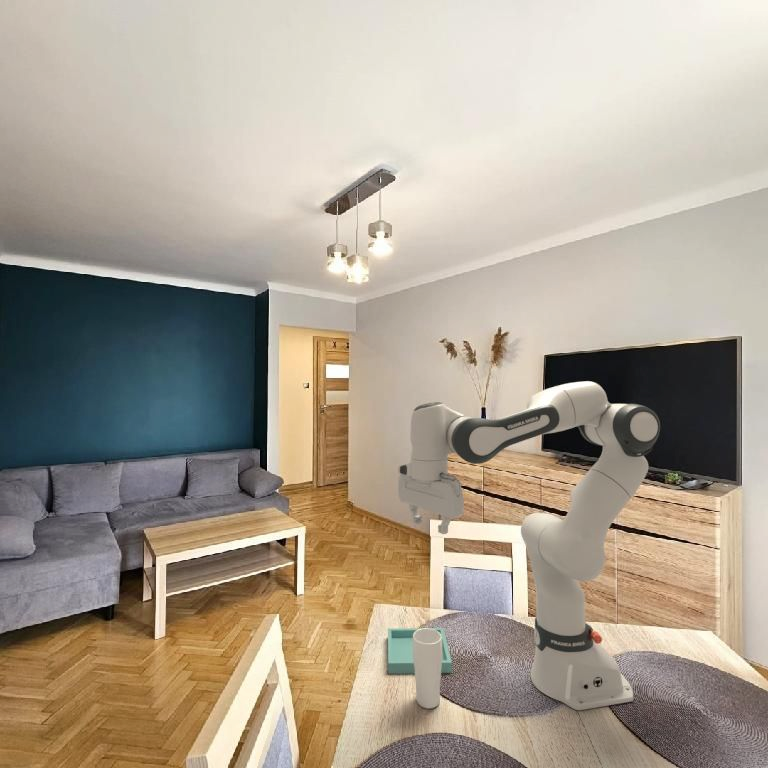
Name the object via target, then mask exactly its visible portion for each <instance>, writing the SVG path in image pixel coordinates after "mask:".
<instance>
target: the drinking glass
mask: <svg viewBox="0 0 768 768" xmlns="http://www.w3.org/2000/svg"><path fill="white" fill-rule="evenodd" d="M422 628H423V629H419V630H417V631H415V632H414V634H413V661H414V671H415V673H414V681H415V694H416V695H415V696H416V702H417V703H418V705H419V707H422V708H424V709H434V708H436V707H438V705H439V704H440V701H441V700H440V699H441V693H440V692H441V680H442V679H441V678H442V673H441V667H442V636H441V634H440V633H439V632H438V631H436V630H434V629H430V628H431V627H429V628H427V627H422Z"/></svg>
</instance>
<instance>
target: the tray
mask: <svg viewBox="0 0 768 768" xmlns="http://www.w3.org/2000/svg"><path fill="white" fill-rule="evenodd" d="M423 628H424V627H422V628H421V627H420V628H419V627H418V628H416V627H415V628H407V627H405V628H403V627H402V628H387V665H388V666H387V667H388V671H387V672H388V675H389V674H390V675H391V674H393V675H394V674H395V675H396V674H400V675H401V674H403V675H405V674H415V671H414V661H413V634H414V632H415V631H417V630H419V629H423ZM429 628H430V629H434V630H436V631H438V632H439V633H440V634H441V636H442V667H441V674H453V666H452V665H453V663H452V657H451V654H450V650H449V646H448V641H447V638H446V633H445V630H444V628H443V627H429Z"/></svg>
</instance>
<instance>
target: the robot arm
mask: <svg viewBox="0 0 768 768" xmlns="http://www.w3.org/2000/svg"><path fill="white" fill-rule="evenodd" d="M575 427H576V428H577V427H578V429H579V432H580V434H581V435H582V437H583V438H584V440H586V441H588V442H589V443H591V444H593V445H595V446H602V451H601V455H600V456H599V457H598V460H597V461H596V462H595V463H594V464H593V465H592V466H591V468H589V470H588V471H586V473H585V474H584V475H583V477H582V478H581V479H580V480H579V481H578V482H577V484H576V485H575V486H574V487H573V488H572V490H571V491H570V494H569V499H570V506H569V508H568V512H567V513H566V515H565V516H564V518H563V519H561V518H560V517H557V516H556V515H554V514H551V513H546V512H533V513H531V514H529V515H527V516H525V518H524V520H523V521H522V523H521V527H520V535H521V539H522V540H523V543H524V544H525V547H526V550H527V554H528V557H529V561H530V568H531V571H532V576H533V581H534V586H535V587H534V589H535V600H536V601H535V604H536V606H535V607H536V609H535V610H536V612H535V613H536V617H534V629H533V630H534V631H533V633H534V636H533V637H534V642H535V652H534V653H535V654H534V659H533V663H532V668H531V671H530V680H531V682H532V684H533V686H534V687H536V689H538V691H540V692H541V693H543V694H544V695H546V696H548V697H549V698H552V699H554V700H556V701H559V702H561V703H564V704H565V705H567V706H568V707H570V708H571V709H573V710H576V711H583V710H584V711H585V710H589V709H595V708H601V707H605V706H606V707H607V706H611V705H618V704H624V703H630V702H633V701H634V698H635V697H634V696H635V695H634V690H633V688H632V686H631V684H630V683H629V681H628V680H627V679H626V677H625V676H624V675H623V674H622V673H621V670H620V667H619V665H618V663H617V661H616V660H615V658H614V656H612V654H611V653H610V652H609V651H608V650H607V649H606V648H605V647H603V646H602V645H601V643H602V642H603V637H602V636H601V634H599V632H598V631H595V630H594V629H593V628H592V626H591V625H590V624H588V623H587V622H586V598H585V593H584V589H583V588H582V586H581V584H580V582H585V583H586V582H591V581H594V580H595V579H597V578H598V577H599V576H601V574H602V573H603V571H604V569H605V566H606V559H607V557H606V552H605V545H604V544H605V542H606V541H605V540H606V537H607V533H608V532H609V528H611V525H612V523H613V522H614V520H615V519H616V518H617V516H618V515H619V514H620V513H621V512H622V510H623V509H624V508H625V506H626V505H627V504H628V503H629V502H630V500H631V499H632V498H633V497H634V495H635V494H636V493H637V491H638V490H639V488H640V486H641V485H642V484H643V482H644V479H645V478H646V477H647V474H648V471H649V462H648V460H647V459H646V457H645V456H646V455H648V454H649V453H651V451H652V450H653V446H654V445H655V443H656V442H657V440H658V438H659V436H660V431H661V422H660V419H659V416H658V415H657V413H656V412H655V411H654V410H653V409H651V408H649V407H647V406H645V405H641V404H636V403H610V402H609V401H608V397H607V393H606V391H605V390H604V389H603V387H602V386H601V385H600V384H599V383H597V382H595V381H594V382H593V381H589V380H586V381H575V382H568V383H563V384H560V385H559V384H558V385H555V386H553V387H549V388H546V389H543V390H540V391H539V392H537V393H535V394H532V395H531V396H530V397H529V399H528V402H527V405H526V409H525V410H522V411H519V412H516V413H513V414H509V415H507V416H503V417H501V418H498V419H487V418H482V417H473V416H469V415H465V414H462V413H461V412H458V411H456V410H454V409H451V408H450V407H448V406H447V405H445V404H444V403H443V402H440V401H438V402H437V401H436V402H428V403H423V404H419V405H418V406H416V407H415V408H414V409H413V410H412V415H411V419H410V443H411V454H410V461H409V462H406V463H403V464H400V465H398V466H397V473H398V474H399V476H398V480H397V493H398V499H399V500H400V502H401V503H405V504H406V505H408V508H409V512H410V514H411V516H412V517H411V518H412V520H411V521H412V523H414V524H416V525H419V524H422V515H420V512H419V509H423V510H425V511H428V512H431V513H434V514H437V515H440V520H442V521H441V523H440V524H438V526H437V531H438V534H441V535H447V534H448V533H449V525H450V523H451V521H452V519H455V518H457V519H458V518H461V517H462V516H463V515H464V513H465V503H464V495H463V489H462V484H461V482H460V480H459V479H458V478H457V476H455V475H453V474H451V475H450V474H448V464H449V463H448V456H449V455H450V454H456V455H457V456H459V457H460V458H461V459H462V460H463V461H465V462H467V463H470V464H477V465H480V464H483V463H487V462H488V461H490V460H492V459H493V458H495V457H496V456H497V455H498V454H499V453H500V452H501V451H503V450H505V449H506V448H508V447H510V446H513V445H516V444H518V443H522V442H524V441H526V440H530V439H532V438H535V437H538V436H541V435H547V434H553V433H558V432H563V431H566V430H569V429H573V428H575Z"/></svg>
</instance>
